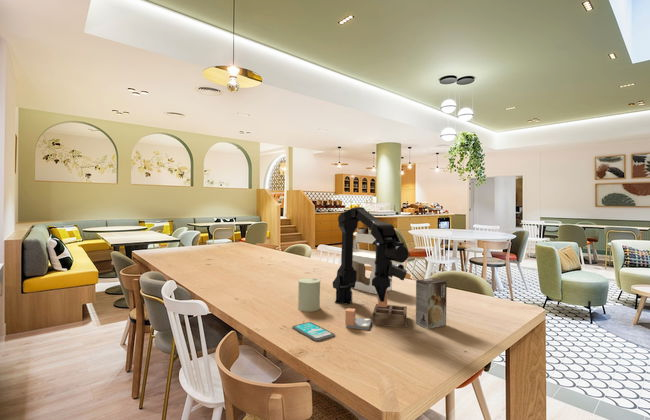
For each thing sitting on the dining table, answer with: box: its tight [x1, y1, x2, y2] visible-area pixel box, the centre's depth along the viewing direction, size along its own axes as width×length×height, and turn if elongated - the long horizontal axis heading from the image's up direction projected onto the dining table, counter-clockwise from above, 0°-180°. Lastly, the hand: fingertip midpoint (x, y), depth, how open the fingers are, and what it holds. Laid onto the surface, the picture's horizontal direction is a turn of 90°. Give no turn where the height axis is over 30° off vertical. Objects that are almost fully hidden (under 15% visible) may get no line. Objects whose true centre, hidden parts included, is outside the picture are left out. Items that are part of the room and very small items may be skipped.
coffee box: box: [415, 277, 447, 330], centre depth 119 cm, size 9×6×16 cm
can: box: [297, 277, 321, 313], centre depth 136 cm, size 9×9×12 cm
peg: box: [377, 289, 388, 307], centre depth 121 cm, size 3×3×8 cm
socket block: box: [372, 303, 408, 328], centre depth 123 cm, size 12×12×4 cm
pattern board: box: [344, 307, 373, 331], centre depth 118 cm, size 8×8×6 cm
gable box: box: [352, 233, 393, 295], centre depth 171 cm, size 22×13×28 cm, turn 43°
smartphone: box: [292, 321, 336, 343], centre depth 111 cm, size 9×1×15 cm
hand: (382, 300), depth 121 cm, fingers closed on peg, 3 cm apart
